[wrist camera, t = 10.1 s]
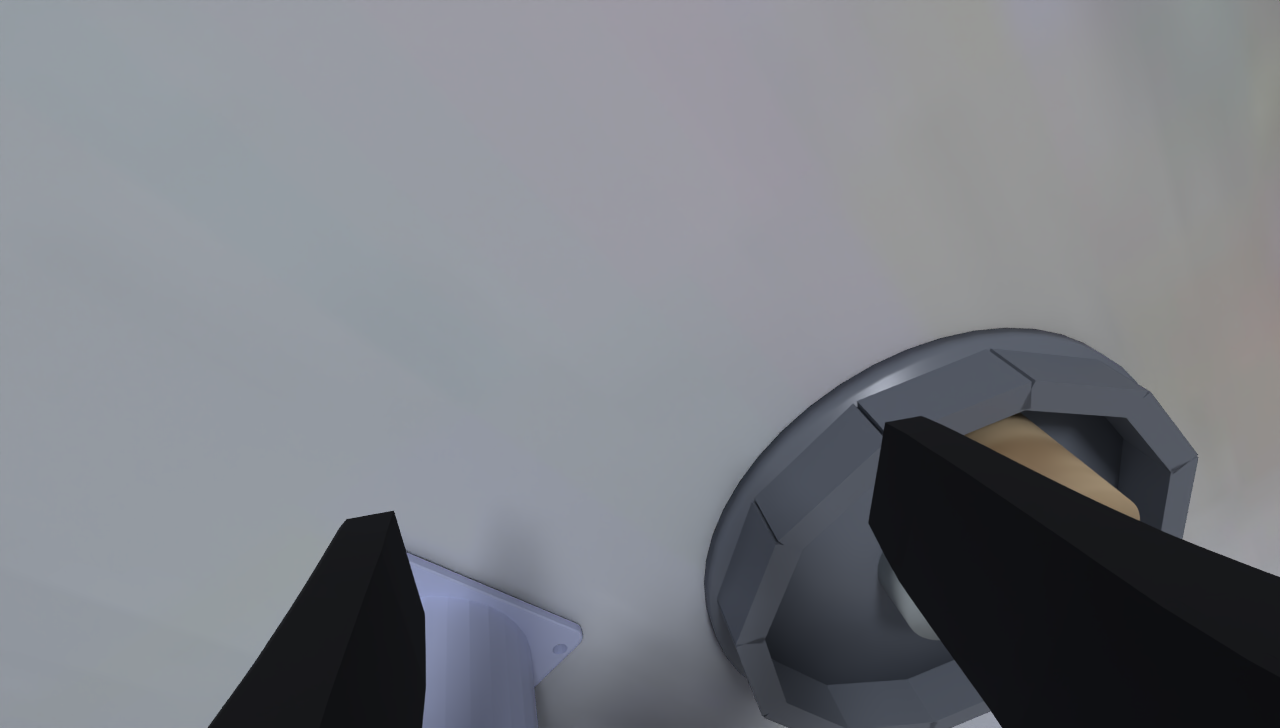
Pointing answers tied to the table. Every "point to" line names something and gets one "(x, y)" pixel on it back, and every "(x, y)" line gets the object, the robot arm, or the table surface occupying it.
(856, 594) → the ring tray
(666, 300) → the table surface
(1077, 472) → the bead
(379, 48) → the table surface
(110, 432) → the table surface
